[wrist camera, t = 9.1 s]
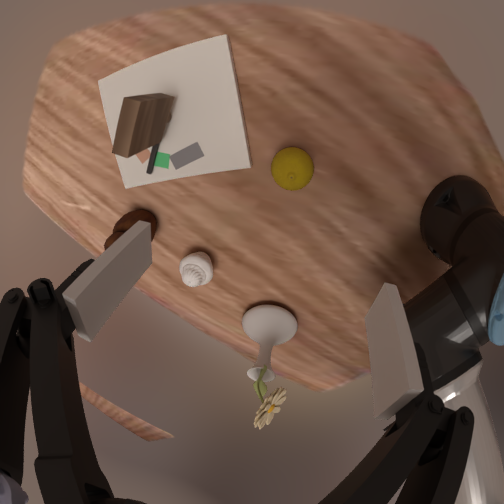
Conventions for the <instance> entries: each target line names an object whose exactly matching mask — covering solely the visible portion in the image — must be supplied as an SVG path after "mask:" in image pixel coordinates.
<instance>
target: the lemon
mask: <svg viewBox="0 0 504 504" xmlns="http://www.w3.org/2000/svg"><path fill="white" fill-rule="evenodd" d="M271 172H272V176H273V178H274V180H275V182H276V183H277V184H278V185H279V186H280V187H282V188H284V189H286V190H291V191H292V190H299V189H302V188H303V187H305V186H306V185H307V184H308V183H309V182H310V180H311V179H312V176H313V172H314V166H313V162H312V159H311V158H310V156H309V155H308V154H307V153H306V152H305V151H303V150H302V149H299V148H296V147H289V148H285V149H283V150H281V151H279V152H278V153H277V154H276V155H275V157H274V158H273V161H272V164H271Z"/></svg>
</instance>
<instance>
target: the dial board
mask: <svg viewBox="0 0 504 504" xmlns="http://www.w3.org/2000/svg"><path fill="white" fill-rule="evenodd" d="M98 84H99V89H100V94H101V99H102V103H103V108H104V112H105V117H106V121H107V125H108V129H109V133H110V137H111V141H112V144H114V139H115V134H116V129H117V124H118V119H119V115H120V111H121V107H122V103H123V99H124V97H129V96H137V95H144V94H153V93H163V94H166V95H170V96H173V97H175V98H174V101H173V104H172V107H171V110H170V112H171V115H172V117H171V120H170V121H169V122H168V123H167V124H166V127H165V130H164V134H163V137H162V141H161V142H160V144H159V148H158V152H157V155H156V159H155V163H154V168H153V172H152V174H148V173H146V171H147V167H148V163H149V158H150V154H151V150H152V147H150V148H147V149H145V150H143V151H141V152H139V153H137V154H135V155H133V156H131V157H129V158H125V157H122V156H119V155H117V154H115V155H116V159H117V162H118V166H119V169H120V173H121V176H122V179H123V182H124V185H125V189H127V188H131V187H136V186H140V185H145V184H150V183H155V182H160V181H166V180H171V179H177V178H182V177H188V176H194V175H201V174H207V173H214V172H221V171H229V170H236V169H244V168H251V166H252V160H251V155H250V149H249V143H248V137H247V132H246V126H245V121H244V115H243V109H242V104H241V98H240V93H239V87H238V82H237V77H236V71H235V66H234V61H233V55H232V50H231V45H230V40H229V36H228V35H226V34H225V35H221V36H217V37H213V38H209V39H205V40H201V41H198V42H194V43H191V44H187V45H184V46H181V47H178V48H175V49H172V50H169V51H166V52H163V53H161V54H158V55H155V56H152V57H150V58H147V59H145V60H142V61H140V62H138V63H135V64H133V65H131V66H128V67H126V68H124V69H122V70H119V71H117V72H115V73H113V74H111V75H109V76H107V77H105V78H103V79H101V80H99V81H98Z"/></svg>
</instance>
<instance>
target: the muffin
mask: <svg viewBox="0 0 504 504" xmlns="http://www.w3.org/2000/svg"><path fill="white" fill-rule="evenodd" d="M179 269H180V273H181V275H182V280H183V281H184V283H185V284H186V285H187V286H188V285H189V286H190V287H191V286H192V287H194V286H195V287H197V286H198V285H204V284H207V283H208V282H209V281H210V280H211V279H212V277H213V266H212V263H211V259H210V257H209V256H208V255H207V254H206V253H204V252H196V253H192V254H189V255H188V256H186V257H184V258H183V259H182V260H181V262H180V265H179Z"/></svg>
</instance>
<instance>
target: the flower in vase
mask: <svg viewBox="0 0 504 504" xmlns="http://www.w3.org/2000/svg"><path fill="white" fill-rule="evenodd" d="M242 326H243V329H244V331H245V333H246V334H247V335H248V336H249V337H250V338H251V339H252V340H254V341H255V342H257V343H259V344H260V350H259V355H258V358H257V361H256V363H255V364H254V366H253V367H252V368H251V369H249V370H248V372H247V375H248V376H249V377H250V378H251V379H253V380H255V383H254V384H253V387H254V389H255V391H256V393H257V395H258V397H259V399H261V401H262V405H261V406H260V408H259V410H258V411H257V413H256V414H257V415H256V417H255V422H254V425H255V427H257V426H258V427H259V429H261V428H263V426H264V425H265V422H266V423H267V425H269V424H270V422H271V419H272V418H273V417H274V413H278V412H279V411H280V410H281V408H280V407H279V406H280V405H281V404H282V403H283V401H284V400H285V399H286V398H287V396H283V395H284V394H285V393H286V391H287V390H286V389H284V388H283V389H282V387H280V388H277V389H276V390H275V391H273V392H272V393H271V394H270V396H269V397H267V398H266V399H265V400H263V396H264V395H265V393H266V391H267V386H266V385H265V383H264V382H269V381H272V380H274V379H275V373H274V372H273V370H272V368H271V362H270V361H271V351H272V347H273V346H275V345H279V344H282V343H285V342H287V341H288V340H290V339H291V338H292V337H293V336H294V335H295V333H296V331H297V328H298V324H297V321H296V319H295V317H294V316H293V315H292V314H291V313H290V312H289V311H287V310H286V309H284V308H282V307H279V306H275V305H259V306H256V307H253V308H251V309H250V310H248V311H247V312H246V313H245V314H244V316H243V318H242Z"/></svg>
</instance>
